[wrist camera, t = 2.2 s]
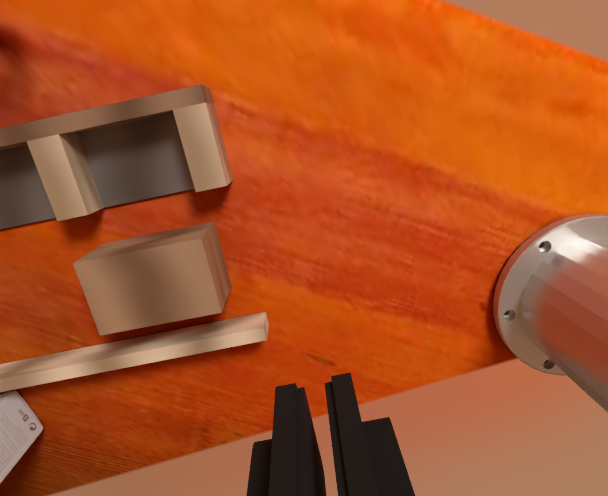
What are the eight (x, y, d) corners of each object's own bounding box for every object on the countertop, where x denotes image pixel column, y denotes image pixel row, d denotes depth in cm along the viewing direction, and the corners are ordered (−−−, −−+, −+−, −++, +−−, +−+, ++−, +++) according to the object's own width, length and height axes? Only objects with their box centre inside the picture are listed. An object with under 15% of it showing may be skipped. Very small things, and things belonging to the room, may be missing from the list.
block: (214, 221, 29) (201, 238, 25) (231, 285, 31) (221, 312, 27) (104, 242, 30) (72, 263, 25) (126, 306, 31) (100, 335, 27)
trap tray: (209, 88, 27) (201, 84, 24) (268, 323, 32) (266, 340, 29) (-131, 161, 27) (-172, 165, 25) (-22, 380, 32) (-47, 401, 30)
